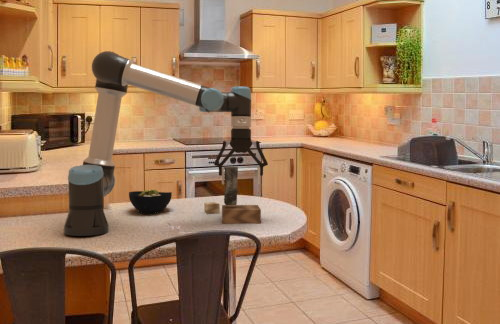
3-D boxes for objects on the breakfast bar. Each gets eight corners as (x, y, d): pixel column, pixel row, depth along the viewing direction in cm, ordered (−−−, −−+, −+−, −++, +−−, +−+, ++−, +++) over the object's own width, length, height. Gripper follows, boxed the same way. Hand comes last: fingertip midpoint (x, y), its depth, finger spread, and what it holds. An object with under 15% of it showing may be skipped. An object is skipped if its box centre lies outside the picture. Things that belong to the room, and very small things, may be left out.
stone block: (224, 206, 201) (238, 205, 201) (224, 167, 201) (238, 167, 201) (224, 203, 210) (237, 203, 210) (223, 166, 210) (237, 166, 210)
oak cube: (207, 216, 216) (207, 204, 216) (204, 214, 221) (204, 202, 221) (219, 216, 218) (219, 203, 217) (216, 214, 222) (216, 202, 222)
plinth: (222, 223, 199) (222, 210, 198) (222, 217, 213) (222, 205, 212) (260, 223, 200) (260, 209, 199) (257, 217, 213) (257, 204, 213)
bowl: (164, 217, 212) (164, 192, 211) (122, 216, 215) (122, 191, 214) (176, 211, 229) (176, 188, 228) (137, 210, 231) (137, 187, 231)
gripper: (207, 127, 200) (207, 185, 201) (275, 128, 201) (274, 185, 202) (207, 128, 207) (207, 183, 208) (273, 128, 209) (272, 183, 210)
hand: (240, 184), depth 205 cm, fingers open, 13 cm apart
